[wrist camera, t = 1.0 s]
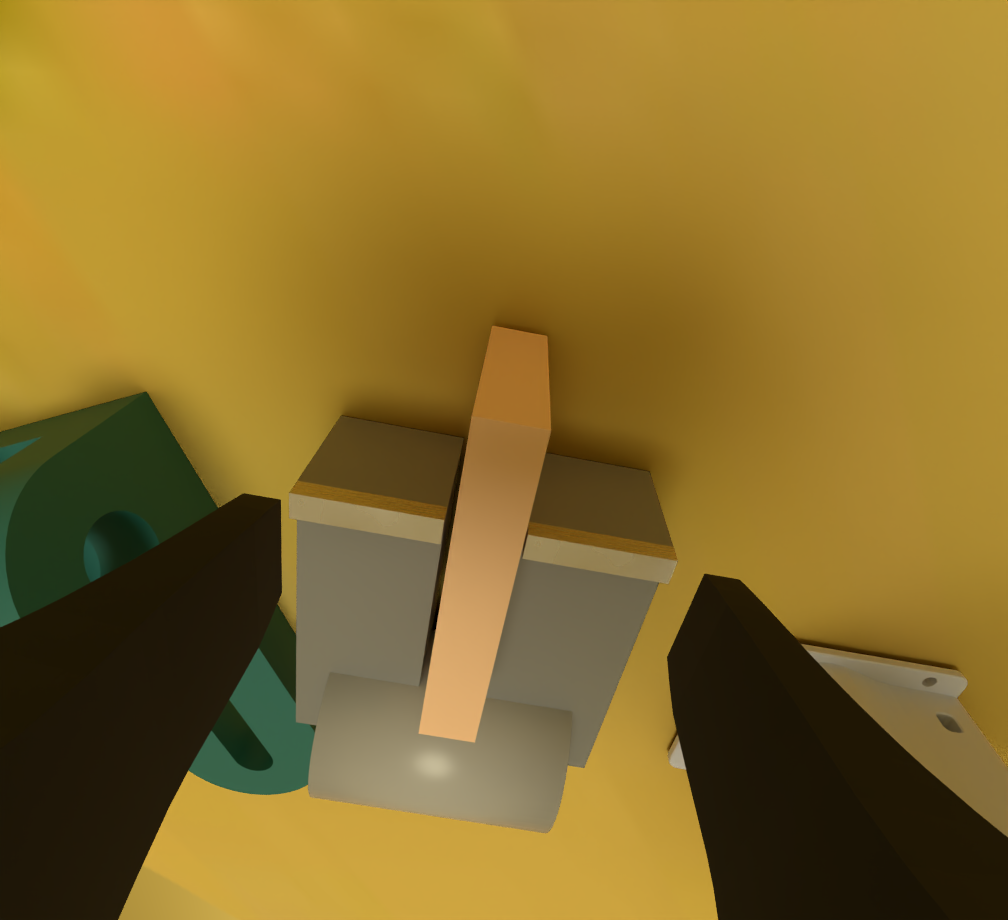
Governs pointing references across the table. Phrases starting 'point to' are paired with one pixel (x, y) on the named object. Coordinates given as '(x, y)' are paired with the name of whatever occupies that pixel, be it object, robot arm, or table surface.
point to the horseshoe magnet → (409, 637)
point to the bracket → (123, 537)
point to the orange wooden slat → (488, 528)
